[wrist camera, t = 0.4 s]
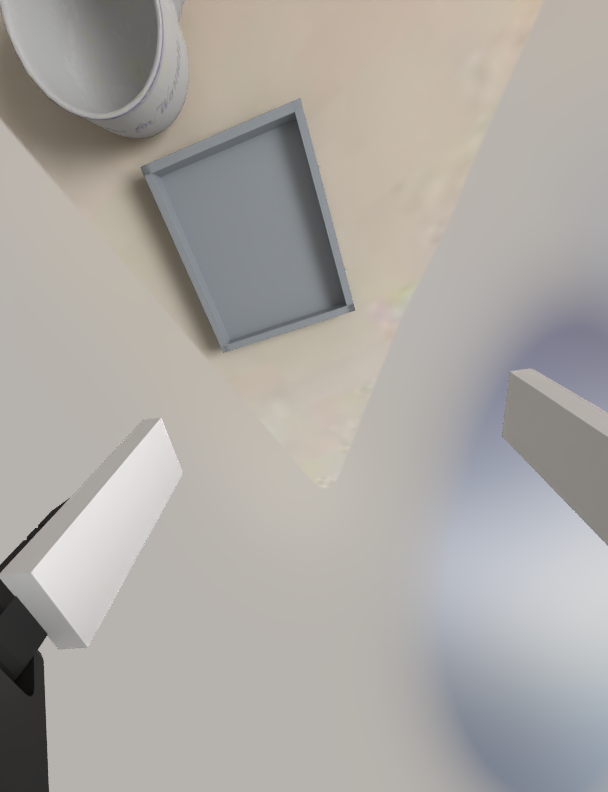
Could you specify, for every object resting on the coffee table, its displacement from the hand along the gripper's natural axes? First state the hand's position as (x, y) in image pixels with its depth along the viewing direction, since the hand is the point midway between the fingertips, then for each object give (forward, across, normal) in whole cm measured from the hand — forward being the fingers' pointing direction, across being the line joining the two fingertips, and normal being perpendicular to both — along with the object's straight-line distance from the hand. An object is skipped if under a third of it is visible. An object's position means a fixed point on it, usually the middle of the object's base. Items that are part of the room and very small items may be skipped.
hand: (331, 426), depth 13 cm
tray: (+26, -5, +7) cm, 27 cm away
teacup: (+26, -11, +22) cm, 36 cm away
